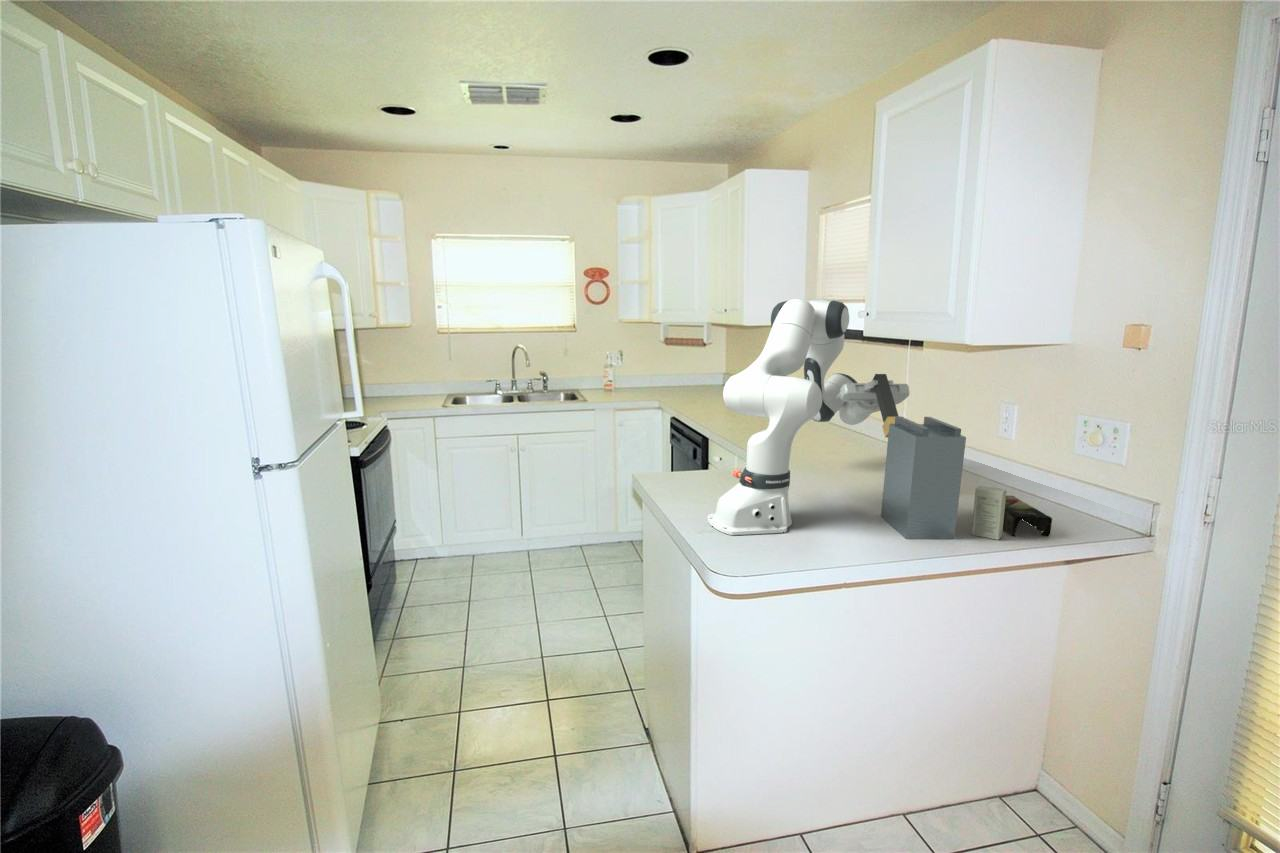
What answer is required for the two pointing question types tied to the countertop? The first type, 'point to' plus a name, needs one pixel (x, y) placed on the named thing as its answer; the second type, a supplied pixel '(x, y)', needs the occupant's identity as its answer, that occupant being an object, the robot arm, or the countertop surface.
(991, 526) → the skincare box
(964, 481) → the countertop surface
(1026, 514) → the juice carton
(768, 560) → the countertop surface
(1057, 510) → the countertop surface
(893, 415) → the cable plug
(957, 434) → the grey tall box
